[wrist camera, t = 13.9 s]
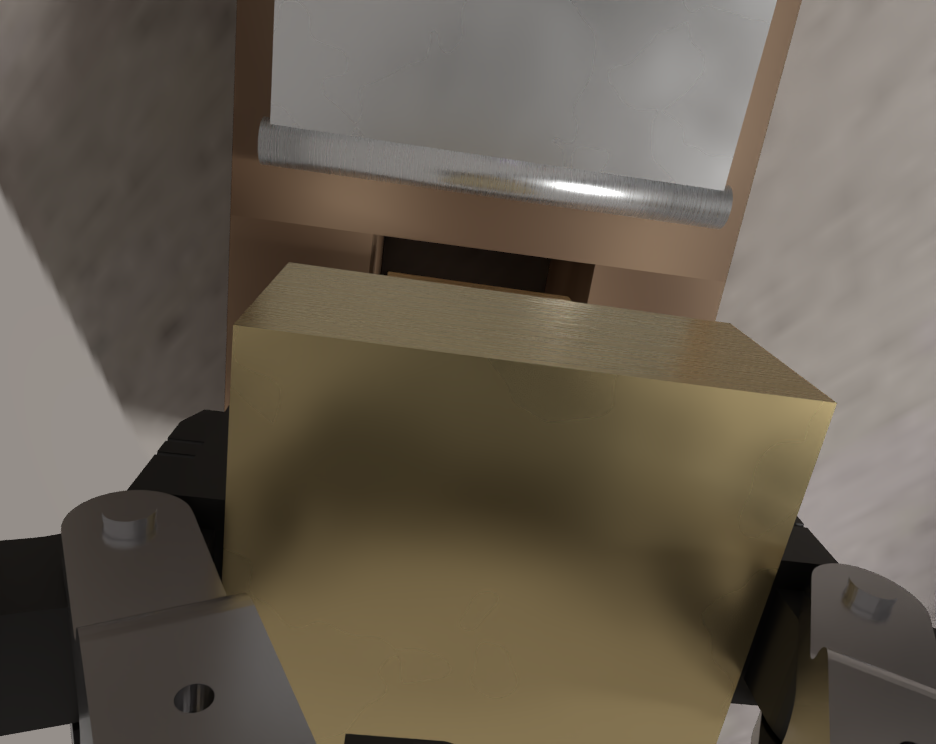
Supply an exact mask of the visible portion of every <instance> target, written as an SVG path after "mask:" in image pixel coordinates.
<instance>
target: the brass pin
mask: <svg viewBox="0 0 936 744" xmlns="http://www.w3.org/2000/svg"><path fill="white" fill-rule="evenodd" d="M836 404H837V403H836V402H835V401H833V400H832V399H831V398H829V397H828V396H827V395H825V394H824V393H823V392H821V391H820V390H819V389H817V388H816V387H815V386H813V385H812V384H811V383H809V382H808V381H807V380H805V379H804V378H803V377H801V376H800V375H798V374H797V373H796V372H794V371H793V370H792V369H790V368H789V367H788V366H786V365H785V364H784V363H782V362H781V361H780V360H778V359H777V358H776V357H774V356H773V355H772V354H770V353H769V352H768V351H766V350H765V349H764V348H762V347H761V346H760V345H758V344H757V343H756V342H754V341H753V340H752V339H750V338H749V337H748V336H746V335H745V334H744V333H742V332H741V331H740V330H738V329H737V328H736V327H734V326H733V325H732V324H730V323H724V322H716V321H709V320H702V319H695V318H688V317H680V316H673V315H666V314H659V313H652V312H644V311H637V310H630V309H623V308H615V307H608V306H601V305H594V304H587V303H579V302H572V301H571V300H570V298H569V297H568V296H561V295H554V294H547V293H539V292H532V291H525V290H518V289H511V288H503V287H496V286H489V285H482V284H475V283H468V282H460V281H453V280H446V279H439V278H432V277H424V276H417V275H410V274H403V273H396V272H389V271H388V275H387V276H385V275H377V274H370V273H363V272H356V271H349V270H341V269H334V268H327V267H320V266H313V265H305V264H298V263H291V262H289V263H288V264H287V265H286V266H285V267H284V268H283V269H282V271H281V272H280V273H279V274H278V275H277V276H276V277H275V278H274V280H273V281H272V282H271V283H270V284H269V285H268V286H267V287H266V288H265V290H264V291H263V292H262V293H261V294H260V295H259V296H258V297H257V299H256V300H255V301H254V302H253V303H252V304H251V305H250V306H249V308H248V309H247V310H246V311H245V312H244V313H243V314H242V315H241V317H240V318H239V319H238V320H237V321H236V322H235V323H234V324H233V337H232V360H231V383H230V407H229V430H228V453H227V477H226V500H225V523H224V546H223V570H222V585H223V587H224V590H225V592H226V595H227V596H228V595H232V594H237V593H242V592H245V593H247V594H248V595H249V596H250V598H251V599H252V601H253V603H254V605H255V607H256V609H257V612H258V614H259V616H260V618H261V621H262V623H263V625H264V627H265V629H266V632H267V634H268V636H269V638H270V641H271V643H272V645H273V647H274V650H275V652H276V654H277V656H278V659H279V661H280V663H281V665H282V668H283V670H284V672H285V674H286V677H287V679H288V681H289V683H290V685H291V688H292V690H293V692H294V694H295V697H296V699H297V701H298V703H299V706H300V708H301V710H302V712H303V715H304V717H305V719H306V721H307V724H308V726H309V728H310V730H311V733H312V735H313V737H314V739H315V742H316V744H344V741H345V734H358V735H371V736H384V737H398V738H411V739H424V740H437V741H446V742H450V743H453V744H716V743H717V740H718V737H719V734H720V731H721V728H722V726H723V723H724V720H725V717H726V714H727V712H728V709H729V706H730V703H731V700H732V697H733V695H734V692H735V689H736V686H737V683H738V681H739V678H740V675H741V672H742V669H743V666H744V664H745V661H746V658H747V655H748V652H749V650H750V647H751V644H752V641H753V638H754V635H755V633H756V630H757V627H758V624H759V621H760V618H761V616H762V613H763V610H764V607H765V604H766V602H767V599H768V596H769V593H770V590H771V587H772V585H773V582H774V579H775V576H776V573H777V571H778V568H779V565H780V562H781V559H782V556H783V554H784V551H785V548H786V545H787V542H788V540H789V537H790V534H791V531H792V528H793V525H794V523H795V520H796V517H797V514H798V511H799V508H800V506H801V503H802V500H803V497H804V494H805V492H806V489H807V486H808V483H809V480H810V477H811V475H812V472H813V469H814V466H815V463H816V461H817V458H818V455H819V452H820V449H821V446H822V444H823V441H824V438H825V435H826V432H827V430H828V427H829V424H830V421H831V418H832V415H833V413H834V410H835V407H836Z"/></svg>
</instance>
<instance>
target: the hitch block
mask: <svg viewBox="0 0 936 744" xmlns="http://www.w3.org/2000/svg"><path fill="white" fill-rule="evenodd" d="M801 1H802V0H777V2H776V6H775V10H774V13H773V17H772V20H771V24H770V28H769V31H768V35H767V38H766V42H765V45H764V49H763V53H762V56H761V60H760V63H759V67H758V70H757V74H756V78H755V81H754V85H753V88H752V92H751V95H750V99H749V103H748V106H747V110H746V113H745V117H744V121H743V124H742V128H741V131H740V135H739V138H738V142H737V146H736V149H735V153H734V156H733V160H732V163H731V167H730V171H729V174H728V178H727V181H726V185H729V186H730V187H731V189H732V192H733V202H732V208H731V212H730V215H729V218H728V220H727V222H726V223H725V225H724V226H723V227H722V228H721V229H712V228H705V227H698V226H691V225H684V224H677V223H670V222H663V221H656V220H649V219H642V218H635V217H628V216H621V215H614V214H606V213H599V212H592V211H585V210H578V209H571V208H564V207H557V206H550V205H543V204H536V203H529V202H522V201H515V200H508V199H501V198H494V197H487V196H480V195H473V194H466V193H459V192H452V191H445V190H438V189H431V188H424V187H417V186H409V185H402V184H395V183H388V182H381V181H374V180H367V179H360V178H353V177H346V176H339V175H332V174H325V173H318V172H311V171H304V170H297V169H290V168H283V167H276V166H269V165H262V164H260V162H259V158H258V133H259V127H260V123H261V120H262V118H263V117H270V115H271V87H272V59H273V32H274V4H275V0H237V16H236V48H235V81H234V114H233V146H232V179H231V212H230V244H229V277H228V310H227V342H226V375H225V408H224V412H225V411H226V409H227V408H228V406H229V405H230V383H231V360H232V337H233V324H234V323H235V322H236V321H237V320H238V319H239V318H240V317H241V315H242V314H243V313H244V312H245V311H246V310H247V309H248V308H249V306H250V305H251V304H252V303H253V302H254V301H255V300H256V299H257V297H258V296H259V295H260V294H261V293H262V292H263V291H264V290H265V288H266V287H267V286H268V285H269V284H270V283H271V282H272V281H273V280H274V278H275V277H276V276H277V275H278V274H279V273H280V272H281V271H282V269H283V268H284V267H285V266H286V265H287V264H288V263H289V262H291V263H298V264H305V265H313V266H320V267H327V268H334V269H341V270H349V271H356V272H363V273H370V274H377V275H381V268H382V258H383V249H384V239H385V236H389V237H397V238H404V239H412V240H419V241H426V242H434V243H441V244H448V245H456V246H463V247H471V248H478V249H485V250H493V251H500V252H507V253H515V254H522V255H530V256H537V257H544V258H551V260H550V265H549V270H548V276H547V281H546V287H545V292H544V293H547V294H554V295H561V296H568V297H569V298H570V300H571V301H572V302H579V303H587V304H594V305H601V306H608V307H615V308H623V309H630V310H637V311H644V312H652V313H659V314H666V315H673V316H680V317H688V318H695V319H702V320H709V321H715V320H716V316H717V312H718V309H719V305H720V301H721V297H722V294H723V290H724V286H725V283H726V279H727V275H728V272H729V268H730V264H731V260H732V257H733V253H734V249H735V246H736V242H737V238H738V235H739V231H740V227H741V223H742V220H743V216H744V212H745V209H746V205H747V201H748V198H749V194H750V190H751V186H752V183H753V179H754V175H755V172H756V168H757V164H758V161H759V157H760V153H761V149H762V146H763V142H764V138H765V135H766V131H767V127H768V124H769V120H770V116H771V112H772V109H773V105H774V101H775V98H776V94H777V90H778V86H779V83H780V79H781V75H782V72H783V68H784V64H785V61H786V57H787V53H788V49H789V46H790V42H791V38H792V35H793V31H794V27H795V24H796V20H797V16H798V12H799V9H800V5H801Z"/></svg>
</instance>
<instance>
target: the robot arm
mask: <svg viewBox="0 0 936 744" xmlns="http://www.w3.org/2000/svg"><path fill="white" fill-rule="evenodd" d="M229 407H230V405H229V406H228V408H227V409H226V411H225V412H221V411H212V410H203V411H201V412H199V413H197V414H195V415H193V416H191V417H189V418H187V419H185V420H183V421H181V422H180V423H179V424H178V426H177V427H176V428H175V429H174V431H173V432H172V433H171V435H170V436H169V437H168V441H165V442H164V443H163V445H162V446H161V447H160V449H159V450H158V452H157V455H154V456H153V458H152V459H151V460H150V461H149V463H148V464H147V465H146V467H145V468H144V469H143V470H142V472H141V473H140V474H139V476H138V477H137V478H136V479H135V481H134V482H133V483H132V485H131V486H130V487H129V488H128V490H127V491H119V492H114V493H109V494H105V495H101V496H98V497H95V498H92V499H90V500H88V501H86V502H83V503H82V504H80V505H78V506H77V507H75V508H74V509H73V510H72V511H70V512H69V513H68V514H67V516H66V517H65V518H64V520H63V522H62V525H61V534H57V535H51V536H46V537H37V538H27V539H16V540H3V541H0V736H3V735H9V734H15V733H20V732H26V731H31V730H37V729H43V728H48V727H54V726H59V725H65V724H70V729H71V739H72V744H316V742H315V739H314V737H313V735H312V733H311V730H310V728H309V726H308V724H307V721H306V719H305V717H304V715H303V712H302V710H301V708H300V706H299V703H298V701H297V699H296V697H295V694H294V692H293V690H292V688H291V685H290V683H289V681H288V679H287V677H286V674H285V672H284V670H283V668H282V665H281V663H280V661H279V659H278V656H277V654H276V652H275V650H274V647H273V645H272V643H271V641H270V638H269V636H268V634H267V632H266V629H265V627H264V625H263V623H262V621H261V618H260V616H259V614H258V612H257V609H256V607H255V605H254V603H253V601H252V599H251V598H250V596H249V595H248V594H247V593H245V592H242V593H237V594H232V595H228V596H227V595H226V592H225V590H224V587H223V585H222V570H223V546H224V523H225V500H226V477H227V453H228V430H229ZM803 525H804V524H803V523H802V521H801V520H800V519H799V518H798V517H796V520H795V523H794V525H793V528H792V531H791V534H790V537H789V540H788V542H787V545H786V548H785V551H784V554H783V556H782V559H781V562H780V565H779V568H778V571H777V573H776V576H775V579H774V582H773V585H772V587H771V590H770V593H769V596H768V599H767V602H766V604H765V607H764V610H763V613H762V616H761V618H760V621H759V624H758V627H757V630H756V633H755V635H754V638H753V641H752V644H751V647H750V650H749V652H748V655H747V658H746V661H745V664H744V666H743V669H742V672H741V675H740V678H739V681H738V683H737V686H736V689H735V692H734V695H733V697H732V700H731V703H735V704H747V705H758V706H759V708H760V710H761V711H760V713H759V716H758V719H757V721H756V724H755V727H754V730H753V733H752V737H751V744H936V629H935V628H933V627H932V623H931V619H930V616H929V613H928V611H927V610H926V608H925V607H924V606H923V604H922V603H921V602H920V601H919V600H918V599H917V598H916V597H914V596H913V595H912V594H911V593H910V592H908V591H907V590H906V589H904V588H903V587H901V586H899V585H898V584H896V583H895V582H893V581H891V580H889V579H887V578H885V577H883V576H881V575H879V574H876V573H874V572H871V571H869V570H866V569H862V568H859V567H856V566H851V565H846V564H839V563H838V562H837V561H836V560H835V559H834V558H833V557H832V555H831V554H830V553H829V552H828V551H827V550H826V549H825V547H824V546H823V545H822V544H821V543H820V542H819V541H818V540H817V538H816V537H815V536H814V535H813V534H812V533H811V532H810V530H809V529H808V528H805V527H803ZM344 744H453V743H450V742H446V741H437V740H424V739H411V738H398V737H384V736H371V735H358V734H345V741H344Z"/></svg>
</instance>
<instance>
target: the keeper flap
mask: <svg viewBox="0 0 936 744" xmlns="http://www.w3.org/2000/svg"><path fill="white" fill-rule="evenodd" d="M776 2H777V0H275V4H274V32H273V59H272V87H271V115H270V117H263V118H262V120H261V123H260V127H259V133H258V158H259V162H260V164H262V165H269V166H276V167H283V168H290V169H297V170H304V171H311V172H318V173H325V174H332V175H339V176H346V177H353V178H360V179H367V180H374V181H381V182H388V183H395V184H402V185H409V186H417V187H424V188H431V189H438V190H445V191H452V192H459V193H466V194H473V195H480V196H487V197H494V198H501V199H508V200H515V201H522V202H529V203H536V204H543V205H550V206H557V207H564V208H571V209H578V210H585V211H592V212H599V213H606V214H614V215H621V216H628V217H635V218H642V219H649V220H656V221H663V222H670V223H677V224H684V225H691V226H698V227H705V228H712V229H721V228H722V227H723V226H724V225H725V223H726V222H727V220H728V218H729V215H730V212H731V208H732V202H733V192H732V189H731V187H730V186H729V185H726V181H727V178H728V174H729V171H730V167H731V163H732V160H733V156H734V153H735V149H736V146H737V142H738V138H739V135H740V131H741V128H742V124H743V121H744V117H745V113H746V110H747V106H748V103H749V99H750V95H751V92H752V88H753V85H754V81H755V78H756V74H757V70H758V67H759V63H760V60H761V56H762V53H763V49H764V45H765V42H766V38H767V35H768V31H769V28H770V24H771V20H772V17H773V13H774V10H775V6H776Z"/></svg>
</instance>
